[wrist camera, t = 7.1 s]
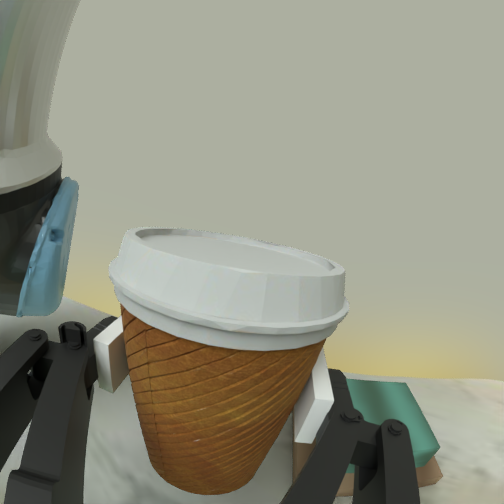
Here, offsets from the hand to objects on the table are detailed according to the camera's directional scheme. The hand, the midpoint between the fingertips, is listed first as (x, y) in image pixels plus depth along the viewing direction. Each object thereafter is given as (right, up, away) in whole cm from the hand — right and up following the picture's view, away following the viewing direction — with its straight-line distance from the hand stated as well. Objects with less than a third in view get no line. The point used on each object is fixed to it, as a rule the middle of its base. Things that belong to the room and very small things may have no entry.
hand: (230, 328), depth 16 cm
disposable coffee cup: (-2, -7, -3) cm, 8 cm away
